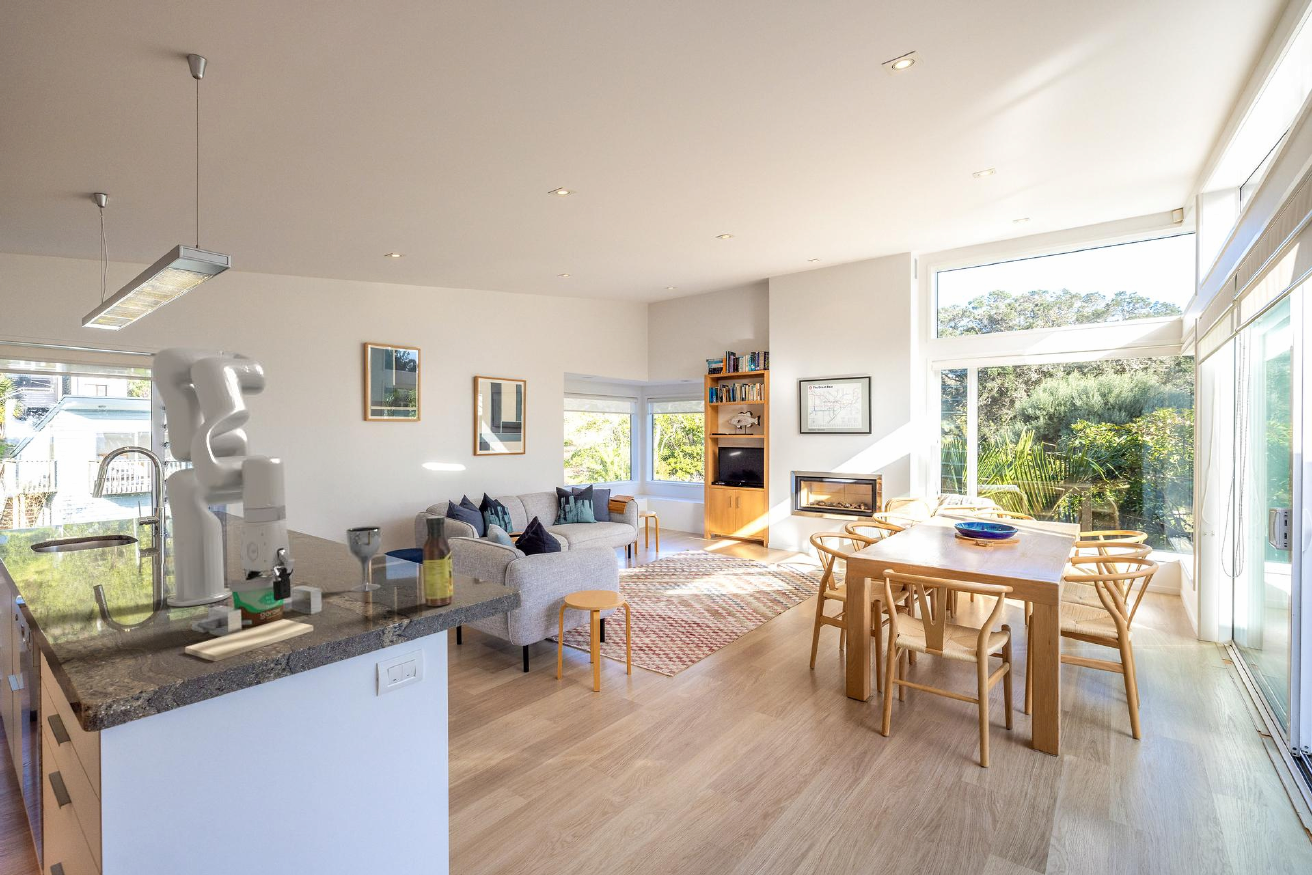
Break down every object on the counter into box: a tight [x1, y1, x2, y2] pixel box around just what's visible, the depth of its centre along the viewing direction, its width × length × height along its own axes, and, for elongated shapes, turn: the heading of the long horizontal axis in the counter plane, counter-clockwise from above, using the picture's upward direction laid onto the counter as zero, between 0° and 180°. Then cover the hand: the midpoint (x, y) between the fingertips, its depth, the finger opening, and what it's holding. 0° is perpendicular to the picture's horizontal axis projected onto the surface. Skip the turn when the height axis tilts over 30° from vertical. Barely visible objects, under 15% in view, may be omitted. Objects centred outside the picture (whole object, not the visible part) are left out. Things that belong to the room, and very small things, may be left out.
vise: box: [191, 585, 323, 637], centre depth 132 cm, size 12×22×5 cm, turn 152°
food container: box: [229, 570, 284, 629], centre depth 132 cm, size 12×6×10 cm, turn 168°
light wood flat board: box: [184, 618, 314, 663], centre depth 120 cm, size 10×18×1 cm, turn 152°
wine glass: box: [345, 525, 382, 593], centre depth 158 cm, size 8×8×15 cm
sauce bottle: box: [422, 515, 454, 607], centre depth 143 cm, size 6×6×20 cm
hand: (268, 596), depth 132 cm, fingers open, 9 cm apart
